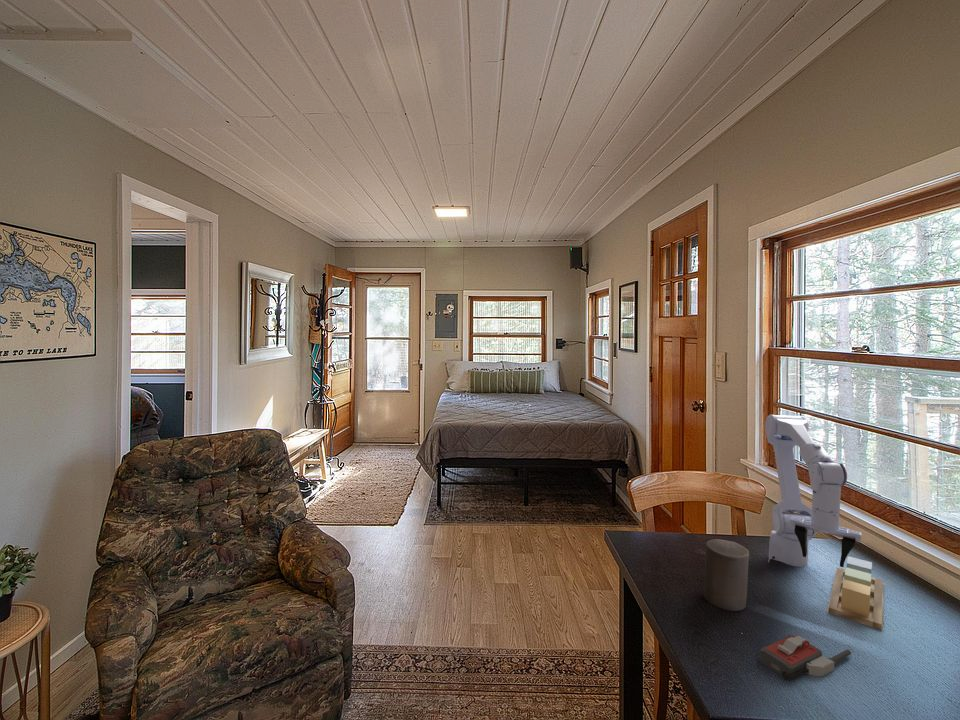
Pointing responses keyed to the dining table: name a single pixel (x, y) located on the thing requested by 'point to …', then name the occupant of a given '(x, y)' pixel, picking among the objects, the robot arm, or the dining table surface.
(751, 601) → the dining table surface
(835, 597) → the slot board
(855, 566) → the blue-grey block
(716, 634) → the dining table surface
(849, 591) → the ochre block
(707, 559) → the pillar candle
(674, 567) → the dining table surface
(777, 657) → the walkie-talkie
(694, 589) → the dining table surface
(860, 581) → the sage block
